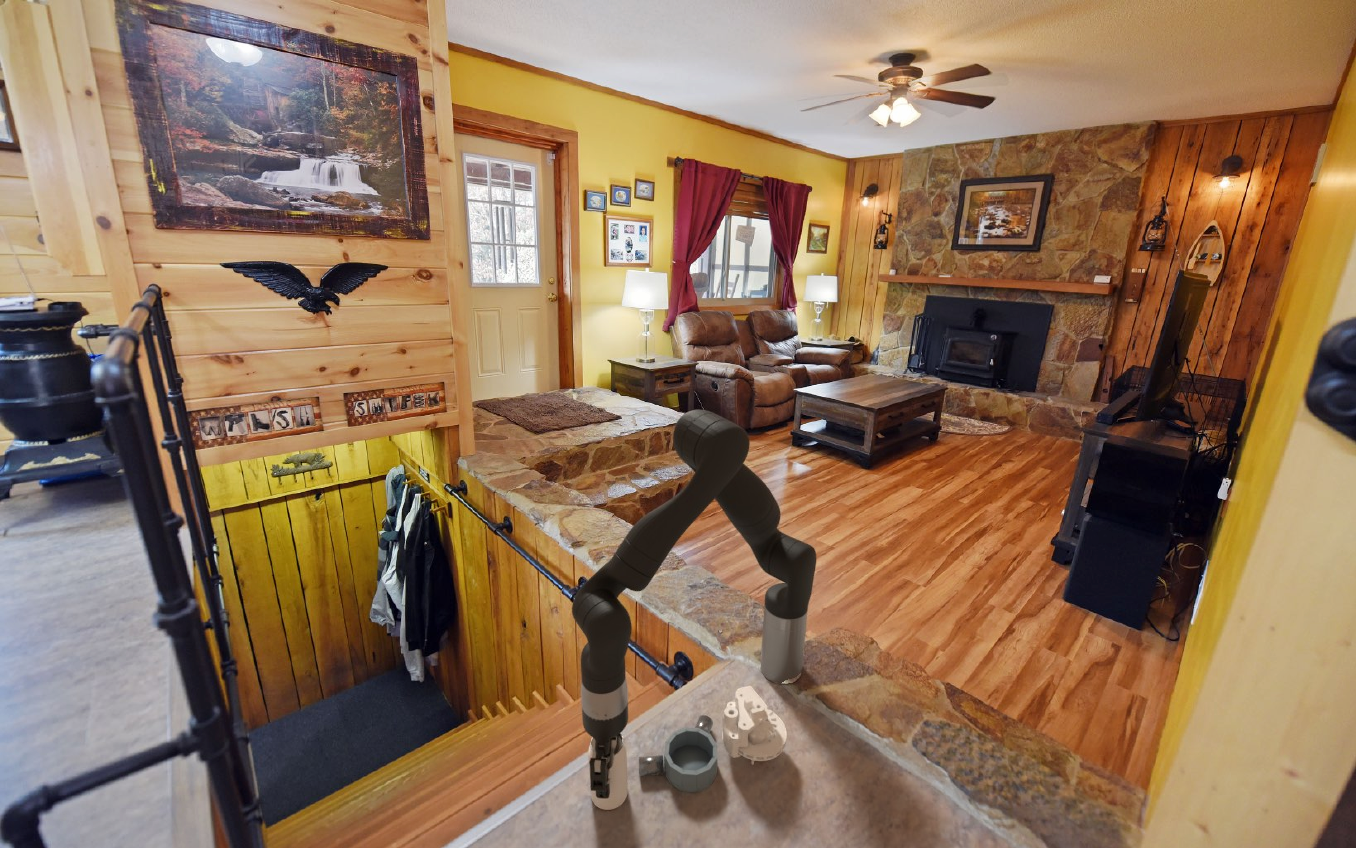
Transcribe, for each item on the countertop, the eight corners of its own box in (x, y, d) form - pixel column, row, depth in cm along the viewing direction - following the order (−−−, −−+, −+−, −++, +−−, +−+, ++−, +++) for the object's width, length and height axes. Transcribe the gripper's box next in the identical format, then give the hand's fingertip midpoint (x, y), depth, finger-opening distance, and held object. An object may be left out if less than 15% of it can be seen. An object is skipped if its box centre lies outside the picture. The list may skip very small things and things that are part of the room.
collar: (667, 743, 107) (667, 726, 106) (717, 747, 107) (717, 729, 105) (662, 791, 98) (662, 772, 97) (716, 795, 97) (717, 776, 96)
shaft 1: (662, 763, 103) (662, 751, 102) (663, 778, 100) (663, 766, 99) (638, 765, 103) (638, 753, 102) (639, 780, 100) (639, 768, 99)
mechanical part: (789, 778, 101) (793, 729, 97) (723, 777, 101) (725, 727, 97) (779, 726, 111) (783, 679, 107) (720, 724, 111) (721, 678, 107)
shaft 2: (706, 747, 106) (706, 735, 105) (691, 743, 107) (691, 731, 106) (712, 729, 110) (713, 717, 109) (698, 725, 111) (698, 713, 110)
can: (606, 770, 102) (603, 720, 98) (635, 787, 99) (633, 737, 95) (583, 799, 97) (579, 748, 93) (613, 819, 94) (610, 766, 90)
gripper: (619, 738, 84) (622, 815, 89) (634, 668, 97) (635, 738, 102) (570, 735, 84) (576, 811, 89) (591, 665, 97) (595, 735, 103)
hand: (608, 772), depth 96 cm, fingers open, 8 cm apart
